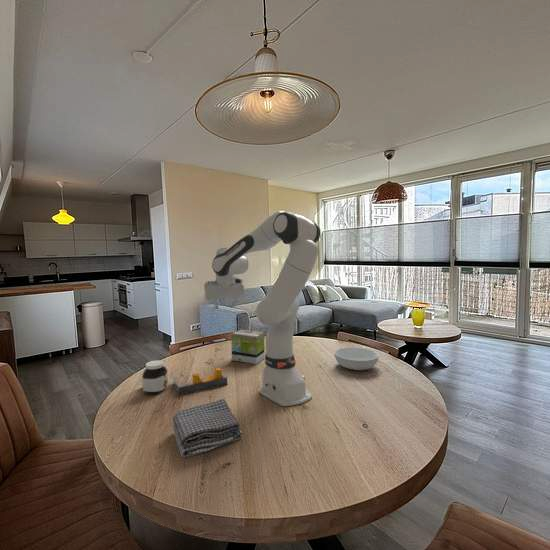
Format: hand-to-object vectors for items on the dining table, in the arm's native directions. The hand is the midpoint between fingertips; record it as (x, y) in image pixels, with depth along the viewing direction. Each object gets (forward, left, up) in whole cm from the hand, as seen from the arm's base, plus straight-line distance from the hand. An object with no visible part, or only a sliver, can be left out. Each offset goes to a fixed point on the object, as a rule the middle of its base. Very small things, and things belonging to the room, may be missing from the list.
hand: (225, 307), depth 150 cm
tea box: (0, -12, -29) cm, 32 cm away
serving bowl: (-36, -54, -29) cm, 71 cm away
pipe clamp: (-20, +16, -30) cm, 39 cm away
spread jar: (-13, +36, -29) cm, 48 cm away
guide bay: (-17, +18, -29) cm, 38 cm away
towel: (-56, +25, -30) cm, 68 cm away
